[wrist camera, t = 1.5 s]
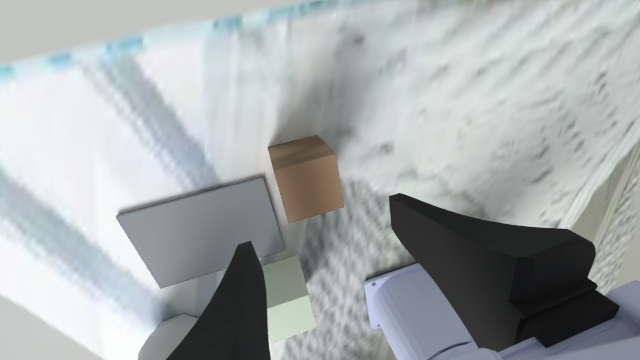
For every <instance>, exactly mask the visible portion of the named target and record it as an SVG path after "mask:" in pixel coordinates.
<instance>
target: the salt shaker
mask: <svg viewBox="0 0 640 360" xmlns="http://www.w3.org/2000/svg"><path fill="white" fill-rule="evenodd" d="M198 319H199V318H197V317H193V316H189V315H186V314H181V315H178V316H176V317H173V318H170V319H168V320H165V321H163V322H162V323H161V324H160V325H159V326H158V327H157V328H156V330H155V331H154V332H153V333H152V334H151V335H150V336H149V337H148V339H147V340H146V342H145V343H144V345H143V346H142V348H141V350H140V352H139V354H138V360H166V359H167V357H168V356H169V355H170V354H171V353H172V352H173V351H174V349H175V348H176V347H177V346H178V345H179V344H180V342H181V341H182V340H183V339H184V337H185V336H186V335H187V334H188V332H189V331H190V330H191V328H192V327H193V326H194V324H195V323H196V322H197V320H198Z"/></svg>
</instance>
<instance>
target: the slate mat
mask: <svg viewBox="0 0 640 360" xmlns="http://www.w3.org/2000/svg"><path fill="white" fill-rule="evenodd" d="M116 219H117V220H118V222H119V223H120V225H121V227H122V228H123V230H124V231H125V233H126V234H127V236H128V238H129V239H130V241H131V242H132V244H133V246H134V247H135V249H136V250H137V252H138V254H139V255H140V257H141V258H142V260H143V261H144V263H145V265H146V266H147V268H148V269H149V271H150V273H151V274H152V276H153V277H154V279H155V281H156V282H157V284H158V285H159V287H160V288H164V287H167V286H171V285H174V284H177V283H180V282H184V281H187V280H190V279H193V278H197V277H200V276H203V275H206V274H209V273H213V272H216V271H219V270H222V269H226V268H228V266H229V264H230V262H231V259H232V257H233V255H234V252H235V250H236V248H237V246H238V244H241V243H245V242H248V241H251V242H252V244H253V247H254V249H255V252H256V254H257V257H258V258H261V257H264V256H268V255H271V254H274V253H277V252H281V251H284V250H285V247H284V244H283V241H282V237H281V234H280V231H279V228H278V224H277V221H276V218H275V214H274V211H273V208H272V205H271V201H270V198H269V195H268V191H267V188H266V185H265V182H264V178H263V177H260V178H256V179H252V180H248V181H245V182H241V183H237V184H233V185H229V186H226V187H222V188H218V189H214V190H211V191H207V192H203V193H199V194H195V195H192V196H188V197H184V198H180V199H177V200H173V201H169V202H165V203H161V204H158V205H154V206H150V207H146V208H143V209H139V210H135V211H131V212H127V213H124V214H120V215H117V216H116Z"/></svg>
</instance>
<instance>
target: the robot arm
mask: <svg viewBox="0 0 640 360" xmlns="http://www.w3.org/2000/svg"><path fill="white" fill-rule="evenodd" d="M389 202H390V215H391V227H392V229H393V231H394V233H395V234H396V236H397V237H398V239H399V240H400V242H401V243H402V244H403V246H404V247H405V248H406V249H407V250H408V251H409V253H410V254H411V255H412V256H413V257H414V258H415V260H416V261H417V262H418V263H416V264H413V265H410V266H407V267H404V268H401V269H399V270H396V271H393V272H390V273H387V274H384V275H381V276H378V277H375V278H372V279H369V280H367V281H366V282H365V283H364V287H365V294H366V301H367V308H368V315H369V322H370V327H371V329H377V328H380V327H381V329H382V331H383V333H384V335H385V337H386V339H387V341H388V343H389V345H390V347H391V348H392V350H393V352H394V354H395V356H396V358H397V360H640V282H639V281H637V280H636V281H635V280H633V281H631V282H629V283H626V284H624V285H622V286H619V287H617V288H615V289H613V290H611V291H609V292H608V293H607V294H606V295H605V296H604V295H602V294H601V293H599V292H598V291H596V290H595V289H597V287H598V286H597V284H596V283H594V282H593V281H591V280H590V279H588V278H587V277H588V274H589V272H590V269H591V267H592V264H593V262H594V258H595V255H596V252H595V246H594V245H593V243H592V242H590V241H589V240H587V239H585V238H583V237H581V236H579V235H578V234H576V233H574V232H572V231H570V230H568V229H557V228H537V227H527V226H517V225H510V224H503V223H497V222H491V221H486V220H481V219H477V218H473V217H469V216H465V215H461V214H458V213H454V212H451V211H448V210H445V209H442V208H439V207H436V206H433V205H431V204H428V203H425V202H423V201H420V200H418V199H415V198H412V197H410V196H407V195H404V194H401V193H398V194H395V195H392V196H389ZM166 360H271V358H270V351H269V341H268V318H267V293H266V285H265V278H264V272H263V269H262V267H261V264H260V262H259V259H258V257H257V254H256V252H255V249H254V247H253V244H252V242H251V241H248V242H245V243H241V244H238V246H237V248H236V250H235V252H234V255H233V257H232V259H231V262H230V264H229V266H228V268H227V270H226V273H225V275H224V277H223V279H222V281H221V283H220V285H219V286H218V288H217V290H216V292H215V294H214V295H213V297H212V299H211V301H210V302H209V304H208V305H207V307H206V309H205V310H204V312H203V313H202V315H201V316H200V318H199V319H198V320H197V322H196V323H195V324H194V326H193V327H192V328H191V330H190V331H189V332H188V334H187V335H186V336H185V337H184V339H183V340H182V341H181V342H180V344H179V345H178V346H177V347H176V348H175V349H174V351H173V352H172V353H171V354H170V355H169V356H168V357H167V359H166Z"/></svg>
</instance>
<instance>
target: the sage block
mask: <svg viewBox="0 0 640 360" xmlns="http://www.w3.org/2000/svg"><path fill="white" fill-rule="evenodd" d="M261 267H262V269H263V272H264V278H265V285H266V293H267V318H268V335H269V338H270V340H271V343H274V342H277V341H280V340H283V339H286V338H288V337H291V336H294V335H297V334H300V333H302V332H305V331H308V330H311V329H313V328H316V327H317V323H316V320H315V316H314V312H313V308H312V304H311V301H310V297H309V293H308V289H307V286H306V282H305V278H304V275H303V271H302V268H301V264H300V261H299V257H298V255H295V256H292V257H289V258H285V259H282V260H279V261H276V262H273V263H270V264H266V265H263V266H261Z"/></svg>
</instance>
